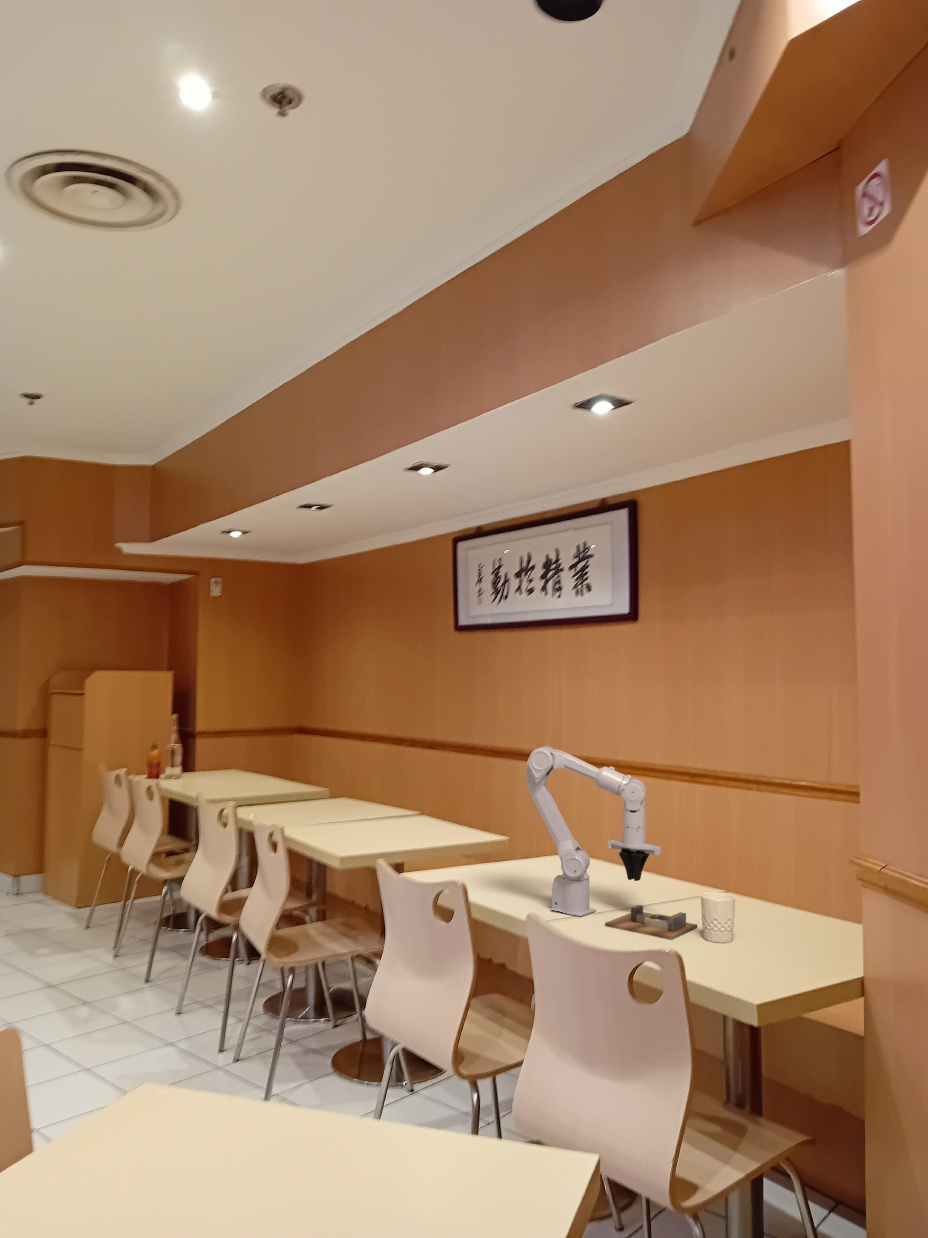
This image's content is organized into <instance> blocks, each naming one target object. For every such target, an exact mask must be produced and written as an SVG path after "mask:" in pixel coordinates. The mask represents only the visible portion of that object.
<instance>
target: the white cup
mask: <svg viewBox="0 0 928 1238" xmlns="http://www.w3.org/2000/svg"><path fill="white" fill-rule="evenodd" d="M700 904H701V906H700V909H701V922H702V924H701V926H702V928H703V929H702V931H703V935H702V936H703V939H704V940H706V941H709V942H712V943H717V944H726V943H731V942H733V941H734V928H735V912H736V911H735V910H736V909H735V908H736V897H735V896H734V895H731V894H729V893H722V892H705V893H701V894H700Z"/></svg>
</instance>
